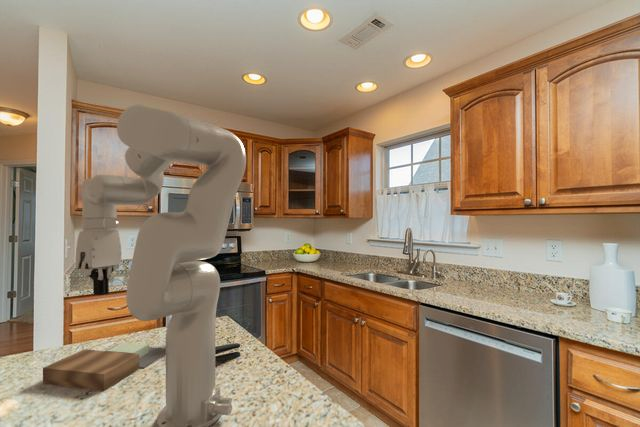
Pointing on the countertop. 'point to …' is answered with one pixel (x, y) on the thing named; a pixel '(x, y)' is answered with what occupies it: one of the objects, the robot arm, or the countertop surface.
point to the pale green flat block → (131, 348)
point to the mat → (150, 356)
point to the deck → (91, 369)
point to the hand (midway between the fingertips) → (101, 294)
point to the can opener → (229, 355)
